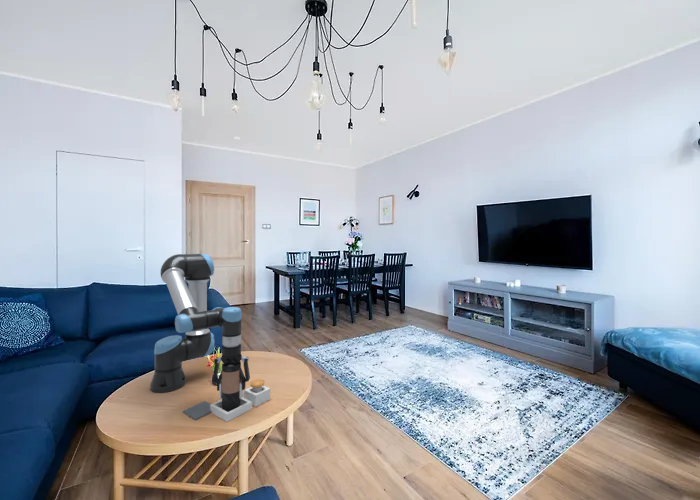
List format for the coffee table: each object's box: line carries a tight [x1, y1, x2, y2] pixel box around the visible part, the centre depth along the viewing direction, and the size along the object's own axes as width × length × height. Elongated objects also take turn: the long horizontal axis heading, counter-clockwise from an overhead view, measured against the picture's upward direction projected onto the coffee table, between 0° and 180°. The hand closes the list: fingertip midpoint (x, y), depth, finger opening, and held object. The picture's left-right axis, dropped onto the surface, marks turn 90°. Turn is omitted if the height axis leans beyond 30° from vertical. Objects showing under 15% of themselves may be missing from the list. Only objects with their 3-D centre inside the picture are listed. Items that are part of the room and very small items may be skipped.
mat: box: [182, 400, 212, 421], centre depth 132 cm, size 10×10×1 cm
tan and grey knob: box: [249, 378, 265, 393], centre depth 141 cm, size 6×6×8 cm
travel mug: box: [221, 361, 242, 412], centre depth 133 cm, size 8×8×20 cm
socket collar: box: [210, 396, 253, 423], centre depth 133 cm, size 12×12×3 cm
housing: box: [243, 385, 271, 407], centre depth 141 cm, size 8×8×5 cm
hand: (231, 397), depth 133 cm, fingers closed on travel mug, 8 cm apart
